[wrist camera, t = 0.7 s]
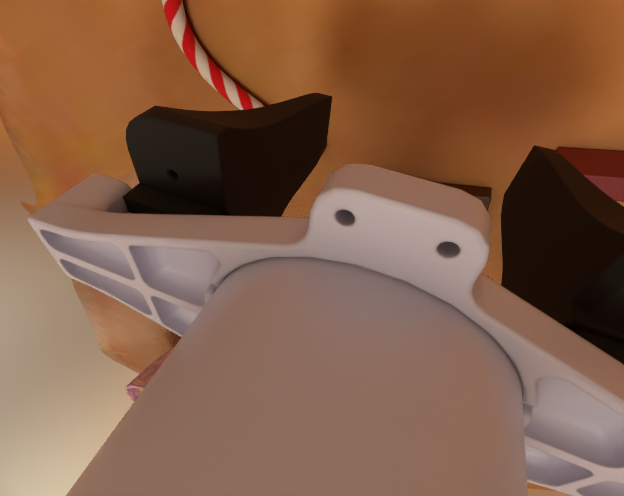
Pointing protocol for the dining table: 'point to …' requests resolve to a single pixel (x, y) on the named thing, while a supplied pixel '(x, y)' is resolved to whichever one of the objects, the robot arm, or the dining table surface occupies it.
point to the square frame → (599, 168)
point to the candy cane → (204, 58)
